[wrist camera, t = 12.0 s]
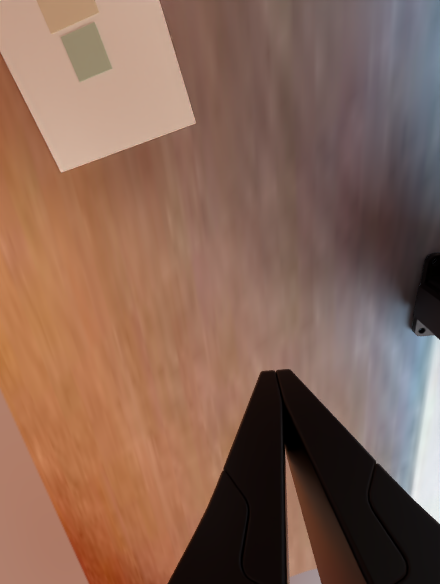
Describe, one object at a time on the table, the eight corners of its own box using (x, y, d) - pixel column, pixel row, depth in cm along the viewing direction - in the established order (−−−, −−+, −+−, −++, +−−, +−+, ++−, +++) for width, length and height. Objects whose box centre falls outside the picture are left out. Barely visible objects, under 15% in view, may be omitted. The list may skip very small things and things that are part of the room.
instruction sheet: (101, -194, 12) (98, -202, 12) (196, 123, 17) (195, 123, 17) (-71, -94, 14) (-77, -99, 13) (62, 172, 18) (60, 172, 18)
